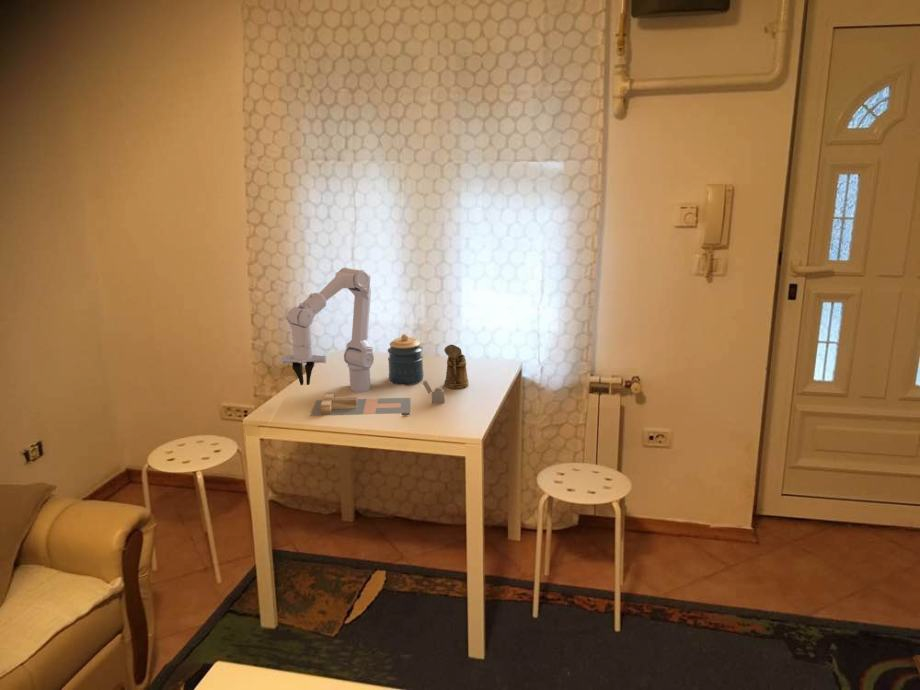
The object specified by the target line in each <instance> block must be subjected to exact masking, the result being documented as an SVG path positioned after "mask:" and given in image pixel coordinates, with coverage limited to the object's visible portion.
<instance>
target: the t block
mask: <svg viewBox="0 0 920 690" xmlns="http://www.w3.org/2000/svg"><path fill="white" fill-rule="evenodd" d="M357 399H358V396H336V394H335V392H325V394H324V396H323V399H322V400H323V401H322V403H321V414H331V411H332V409H346V408H357V405H358V404H357Z"/></svg>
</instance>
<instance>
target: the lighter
mask: <svg viewBox="0 0 920 690" xmlns="http://www.w3.org/2000/svg"><path fill="white" fill-rule="evenodd" d="M422 385H423V386H424V389H425V390H426V391H427V393H428V394H431V404H433V405H436V404H445V389H442V387H435V388H434V389H431V386H430V385H429V383H428V381H427V380H424V381H422Z"/></svg>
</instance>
